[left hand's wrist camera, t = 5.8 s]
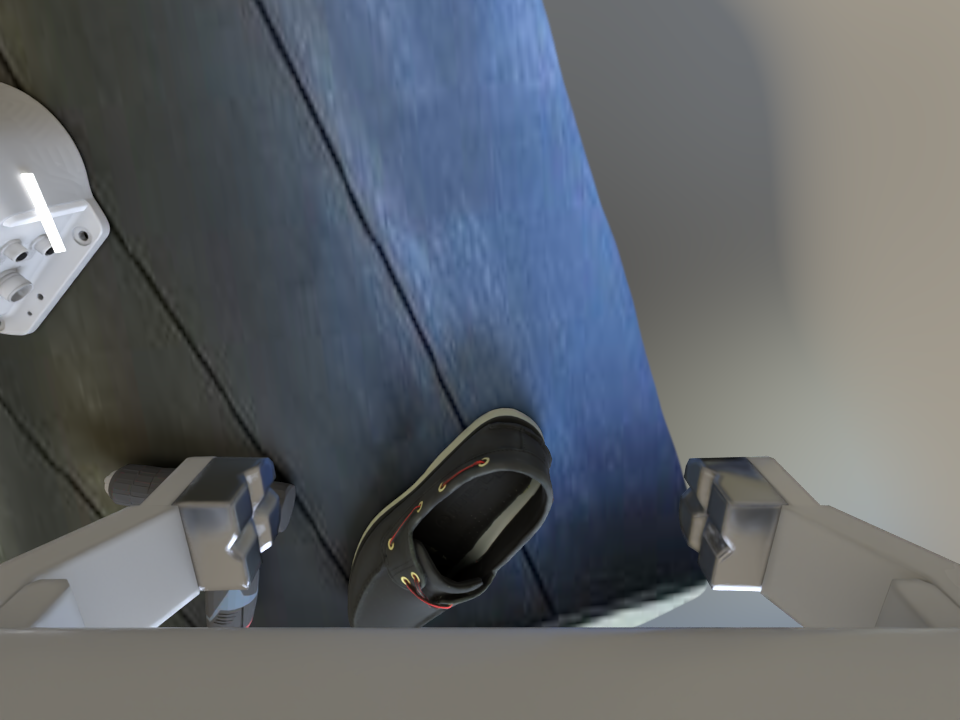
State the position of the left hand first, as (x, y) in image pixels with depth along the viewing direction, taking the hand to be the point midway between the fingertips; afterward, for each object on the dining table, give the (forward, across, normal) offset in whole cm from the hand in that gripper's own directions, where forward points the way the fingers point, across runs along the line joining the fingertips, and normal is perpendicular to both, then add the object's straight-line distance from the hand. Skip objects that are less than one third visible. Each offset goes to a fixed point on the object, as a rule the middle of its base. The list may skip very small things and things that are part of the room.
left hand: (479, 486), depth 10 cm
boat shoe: (+40, +4, +32) cm, 51 cm away
